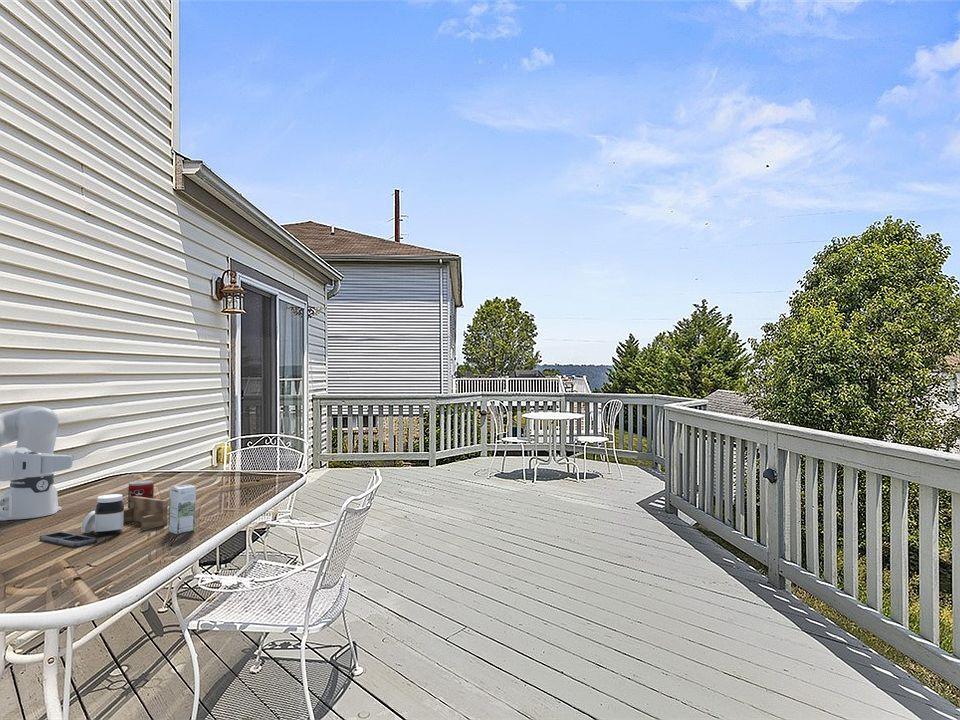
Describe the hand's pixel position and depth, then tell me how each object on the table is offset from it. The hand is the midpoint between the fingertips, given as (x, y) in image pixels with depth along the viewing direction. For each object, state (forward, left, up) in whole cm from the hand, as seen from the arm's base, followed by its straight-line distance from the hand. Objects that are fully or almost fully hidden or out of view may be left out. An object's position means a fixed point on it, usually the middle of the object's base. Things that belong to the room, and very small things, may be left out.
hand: (70, 457), depth 169 cm
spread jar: (0, +10, -25) cm, 27 cm away
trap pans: (0, 0, -25) cm, 25 cm away
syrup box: (+21, +22, -25) cm, 40 cm away
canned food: (-17, +34, -25) cm, 46 cm away
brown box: (0, +22, -25) cm, 33 cm away
